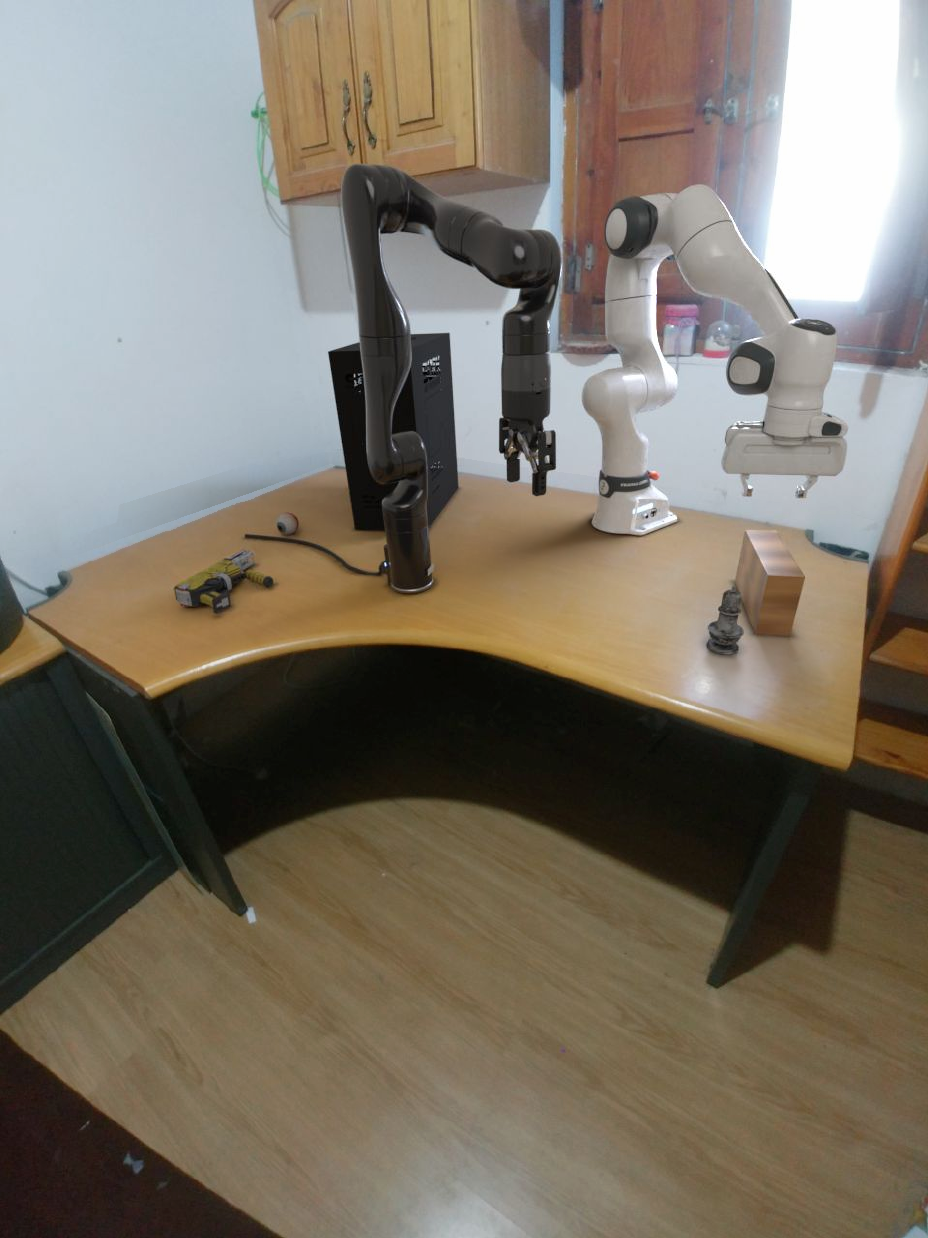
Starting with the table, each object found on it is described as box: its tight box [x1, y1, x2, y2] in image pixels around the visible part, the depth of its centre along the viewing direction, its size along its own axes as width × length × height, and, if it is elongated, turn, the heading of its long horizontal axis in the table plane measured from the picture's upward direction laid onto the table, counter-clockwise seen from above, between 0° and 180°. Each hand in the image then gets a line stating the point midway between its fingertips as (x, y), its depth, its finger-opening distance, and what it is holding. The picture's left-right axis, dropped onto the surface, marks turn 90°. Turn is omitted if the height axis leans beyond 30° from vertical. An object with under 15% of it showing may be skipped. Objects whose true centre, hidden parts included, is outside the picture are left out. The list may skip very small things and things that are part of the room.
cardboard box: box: [327, 332, 460, 532], centre depth 168 cm, size 38×20×45 cm, turn 167°
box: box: [734, 529, 806, 637], centre depth 115 cm, size 21×6×12 cm, turn 168°
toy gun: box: [173, 548, 274, 614], centre depth 136 cm, size 5×24×15 cm
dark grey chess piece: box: [706, 585, 745, 655], centre depth 104 cm, size 6×6×12 cm
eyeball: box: [275, 511, 300, 536], centre depth 163 cm, size 6×6×6 cm
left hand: (525, 487), depth 100 cm, fingers open, 8 cm apart
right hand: (772, 496), depth 114 cm, fingers open, 8 cm apart
